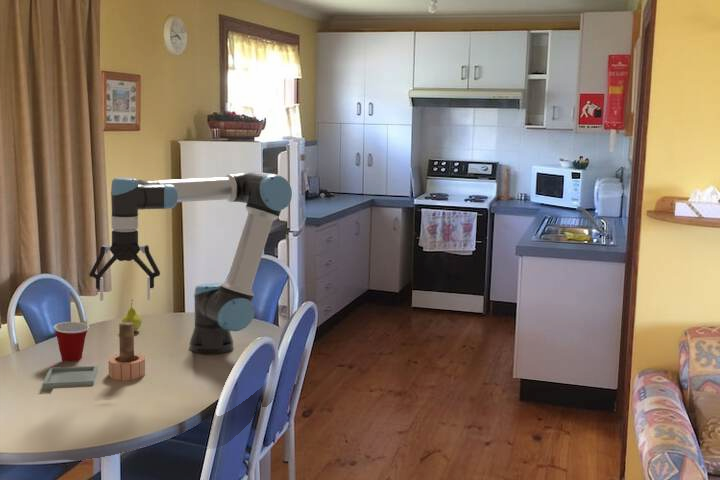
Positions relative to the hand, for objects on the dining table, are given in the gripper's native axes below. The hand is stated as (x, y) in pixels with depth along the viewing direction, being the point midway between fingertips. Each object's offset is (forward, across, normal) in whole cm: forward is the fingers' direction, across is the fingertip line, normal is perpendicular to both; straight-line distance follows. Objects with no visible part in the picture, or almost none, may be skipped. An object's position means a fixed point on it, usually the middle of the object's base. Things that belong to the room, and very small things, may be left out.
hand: (125, 299), depth 221 cm
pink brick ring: (+25, 0, 0) cm, 25 cm away
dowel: (+24, 0, 0) cm, 24 cm away
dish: (+25, +16, +1) cm, 29 cm away
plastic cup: (+25, +18, -18) cm, 36 cm away
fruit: (+25, +1, -50) cm, 56 cm away
